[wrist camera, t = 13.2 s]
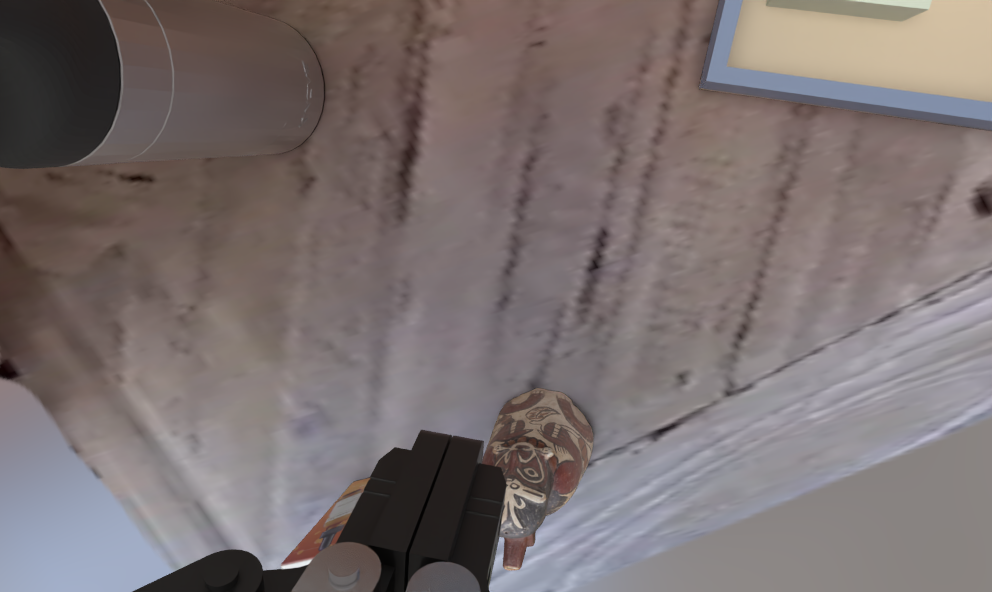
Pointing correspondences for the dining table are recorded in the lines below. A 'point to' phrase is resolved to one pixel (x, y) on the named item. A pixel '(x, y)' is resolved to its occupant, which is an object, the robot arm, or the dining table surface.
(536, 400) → the figurine
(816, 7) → the soap bar
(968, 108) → the mailer body
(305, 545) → the small box
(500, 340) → the dining table surface
